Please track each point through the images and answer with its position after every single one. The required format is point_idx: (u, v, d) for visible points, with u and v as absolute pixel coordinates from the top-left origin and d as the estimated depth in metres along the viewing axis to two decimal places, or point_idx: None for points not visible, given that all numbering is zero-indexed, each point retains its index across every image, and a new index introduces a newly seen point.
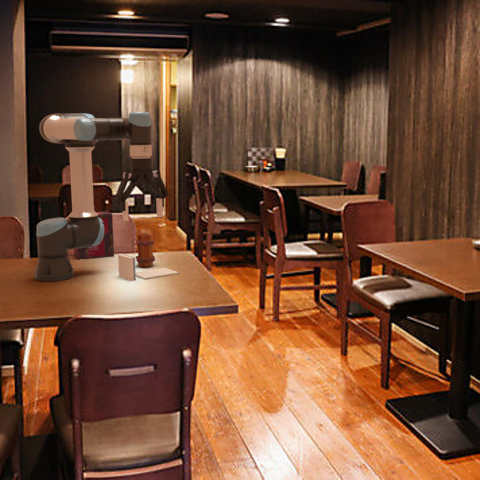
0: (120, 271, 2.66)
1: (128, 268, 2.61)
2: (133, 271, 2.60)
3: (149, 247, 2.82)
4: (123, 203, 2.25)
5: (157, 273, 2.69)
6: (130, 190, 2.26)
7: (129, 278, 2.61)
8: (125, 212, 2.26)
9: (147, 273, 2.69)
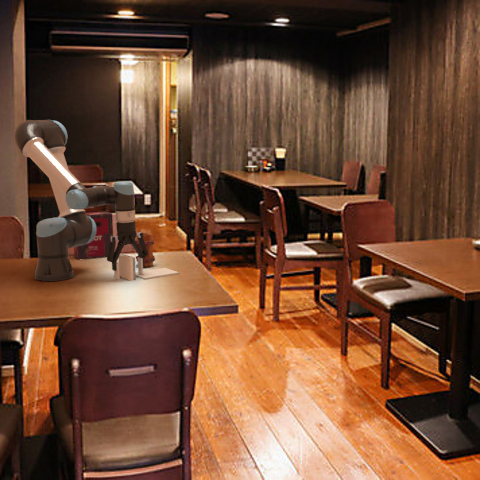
0: (120, 271, 2.66)
1: (128, 268, 2.61)
2: (133, 271, 2.60)
3: (149, 247, 2.82)
4: (114, 264, 2.59)
5: (157, 273, 2.69)
6: (119, 251, 2.59)
7: (129, 278, 2.61)
8: (116, 271, 2.60)
9: (147, 273, 2.69)
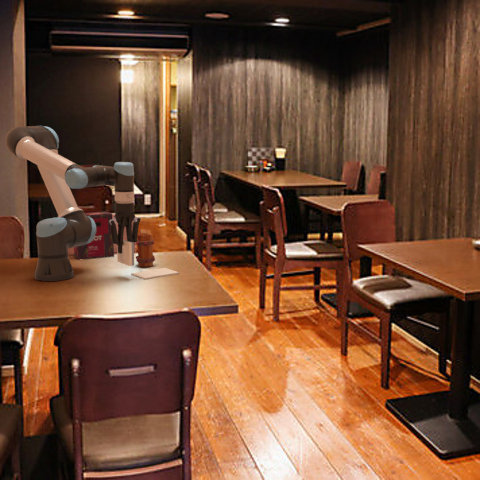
0: (119, 256, 2.65)
1: (127, 253, 2.60)
2: (131, 256, 2.59)
3: (149, 247, 2.82)
4: (120, 246, 2.60)
5: (157, 273, 2.69)
6: (121, 234, 2.59)
7: (127, 263, 2.60)
8: (122, 254, 2.61)
9: (147, 273, 2.69)
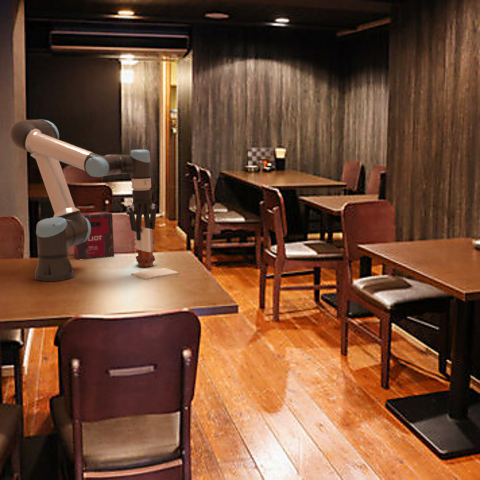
0: (137, 243, 2.67)
1: (146, 240, 2.61)
2: (150, 242, 2.61)
3: None
4: (139, 233, 2.62)
5: (157, 273, 2.69)
6: (140, 221, 2.61)
7: (146, 250, 2.62)
8: (140, 241, 2.63)
9: (147, 273, 2.69)
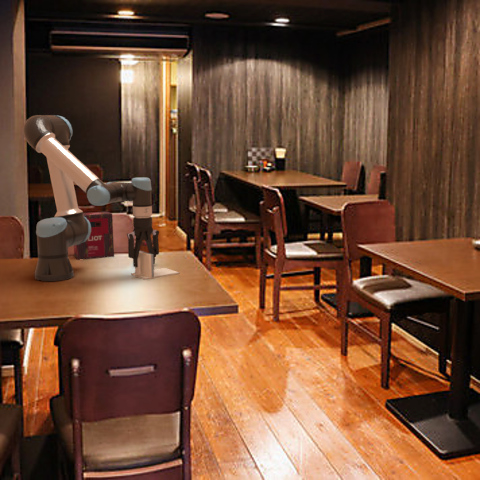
0: None
1: (147, 265, 2.63)
2: (151, 267, 2.63)
3: None
4: (136, 260, 2.63)
5: (157, 273, 2.69)
6: (138, 248, 2.63)
7: (147, 275, 2.64)
8: (137, 268, 2.64)
9: None
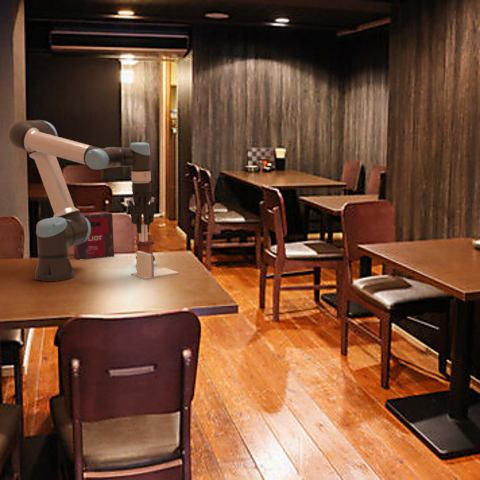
0: (138, 268, 2.69)
1: (147, 265, 2.63)
2: (151, 267, 2.63)
3: (149, 247, 2.82)
4: (139, 226, 2.62)
5: (157, 273, 2.69)
6: (140, 213, 2.61)
7: (147, 275, 2.64)
8: (141, 234, 2.63)
9: None
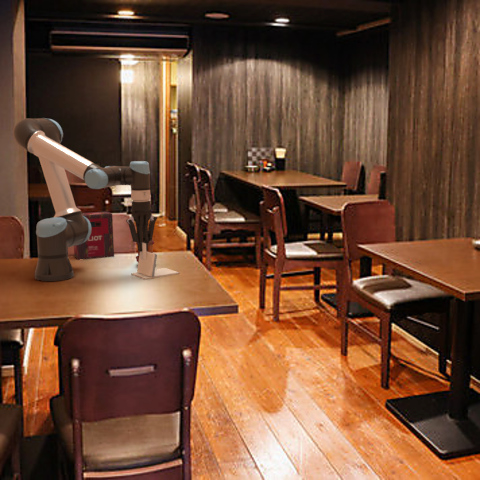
0: (139, 267, 2.69)
1: (149, 264, 2.64)
2: (153, 267, 2.63)
3: (149, 247, 2.82)
4: (140, 244, 2.63)
5: (157, 273, 2.69)
6: (140, 232, 2.62)
7: (148, 274, 2.64)
8: (142, 252, 2.64)
9: None
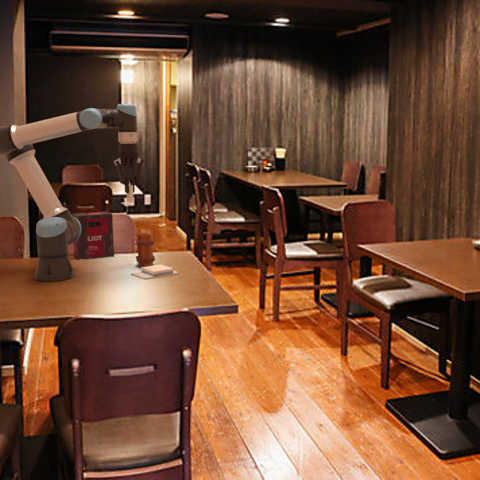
0: (147, 267, 2.72)
1: (161, 269, 2.68)
2: (162, 272, 2.66)
3: (149, 247, 2.82)
4: (127, 186, 2.69)
5: None
6: (127, 173, 2.68)
7: (153, 270, 2.65)
8: (129, 194, 2.70)
9: None
